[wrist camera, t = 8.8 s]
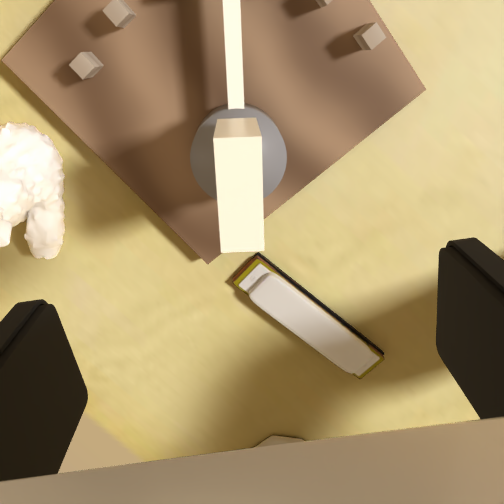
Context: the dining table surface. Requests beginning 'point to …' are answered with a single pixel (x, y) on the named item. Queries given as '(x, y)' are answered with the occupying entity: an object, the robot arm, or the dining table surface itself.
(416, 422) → the dining table surface
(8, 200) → the seated beast figurine
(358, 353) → the harmonica
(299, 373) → the dining table surface
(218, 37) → the board
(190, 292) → the dining table surface
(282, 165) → the dial knob with pointer
